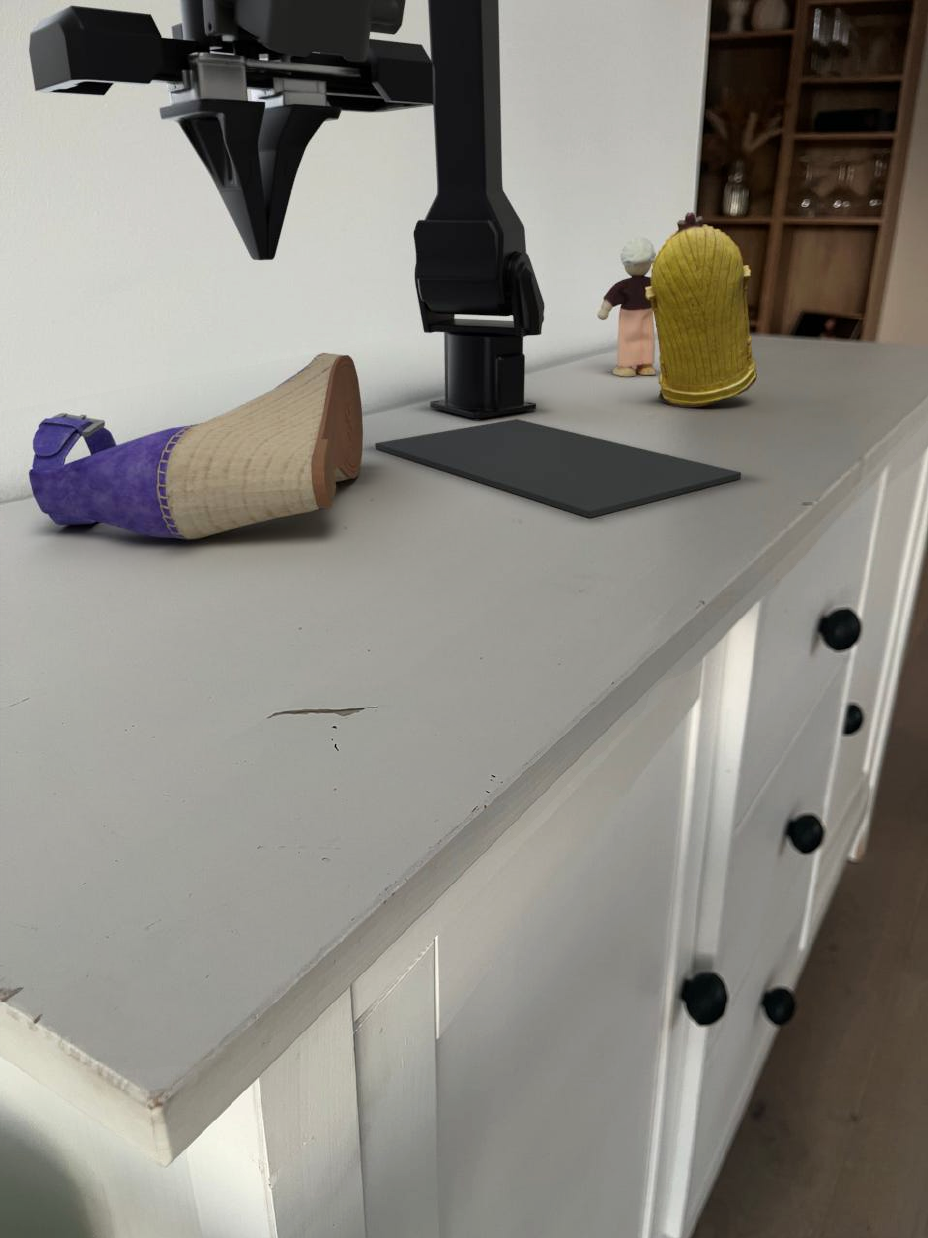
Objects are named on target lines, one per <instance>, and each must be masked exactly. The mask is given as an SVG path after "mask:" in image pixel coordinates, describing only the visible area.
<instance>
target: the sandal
mask: <svg viewBox="0 0 928 1238" xmlns="http://www.w3.org/2000/svg"><path fill="white" fill-rule="evenodd" d="M363 424H364V423H363V407H362V398H361V390H360V382H359V377H358V372H357V368H356V365H355V361H354V360H353V358H352V357H351V356H350V355H349V354H343V355H342V354H338V353H328V352H322V353H319V354H317V355H316V356H315V357H314V358H313V359H311V362H308V364H307V365H306V366H304V367H302V369H300V370H298V371H297V372H296V373H295V374H293V375H292V376H290V377H288V379H286V380H285V381H283V382H282V383H280V384H278V385H277V386H276V387H275V388H273V389H271V390H269V391H267V392H266V393H264V394H262V395H260V396H258V397H255V398H254V399H251V400H249V401H247V402H245V403H243V404H241V405H239V406H236V407H235V408H232V409H230V410H228V411H226V412H224V413H222V414H219V415H217V416H215V417H213V418H211V419H208V420H207V421H204V422H201V423H195V424H189V425H184V426H176V427H170V428H166V429H163V430H158V431H156V432H152V433H150V434H147V435H143V436H140V437H137V438H134V439H132V440H129V441H126V442H125V441H124V442H123V443H119V444H117V442H116V440H115V438H114V436H113V434H112V432H111V431H110V430H109V429H107V428H106V427H105V425H106V421H105V420H104V419H97V418H91V417H87V414H80V415H74V414H69V413H67V412H60V413H58V414H56V415H53V416H52V417H49V418H47V417H46V418H44V419H42V420H41V422H40V423H39V424H38V429H37V430H36V431H35V433H34V437H33V439H32V450H33V453H34V455H33V461H32V468H31V469H29V471H28V477H29V483H30V487H31V491H32V495H33V497H34V499H35V501H36V503H37V505H38V507H39V509H40V511H41V512H42V513H43V514H45V515H48V517H49V518H50V519H51V521H53V522H54V524H55V525H58V526H79V525H90V524H95V523H96V522H98V523H102V524H105V525H109V526H113V527H116V528H119V529H122V530H126V531H128V532H132V533H136V534H141V535H145V536H149V537H156V538H168V539H182V540H186V541H190V540H199V539H203V538H207V537H210V536H214V535H216V534H220V533H223V532H227V531H230V530H234V529H237V528H241V527H242V528H243V527H245V526H249V525H254V524H257V523H262V522H266V521H269V520H274V519H277V518H282V517H288V516H294V515H299V514H304V513H310V512H313V511H317V510H320V508H321V509H323V508H324V509H325V508H332V506H333V502H334V499H335V495H336V490H337V482H338V483H339V482H342V481H346V480H350V479H351V480H352V479H353V480H354V479H355V478H357V476H358V475H359V472H360V468H361V464H362V457H363V445H364V443H363V442H364V425H363ZM81 438H83V439H84V442H85V444H86V446H87V448H88V451H89V454H90V455H87V456H84V457H81V458H79V459H78V458H77V459H76V460H73V461H71V462H67V463H66V458H67V457H68V455H69V453H70V452H71V451H72V449H73V448H74V447H75V445H76V444H77V442H78V441H79V440H80V439H81Z"/></svg>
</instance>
